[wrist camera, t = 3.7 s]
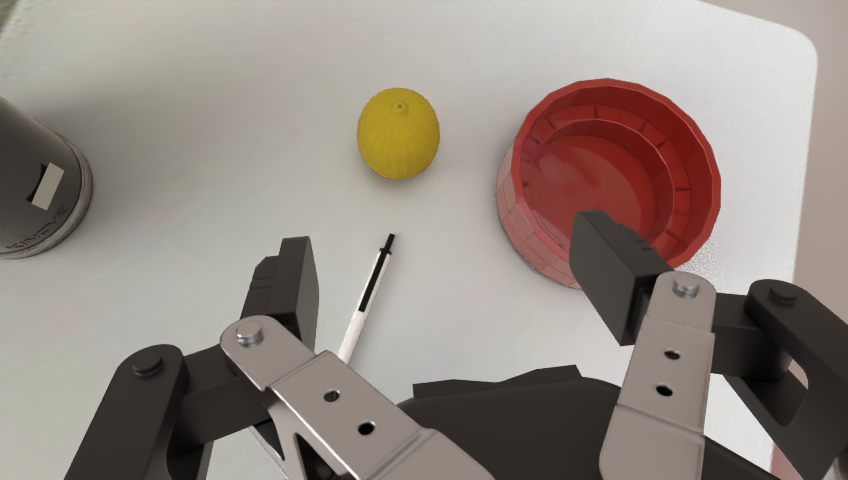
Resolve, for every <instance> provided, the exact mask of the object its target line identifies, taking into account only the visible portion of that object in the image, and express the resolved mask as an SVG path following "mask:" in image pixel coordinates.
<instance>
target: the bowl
mask: <svg viewBox="0 0 848 480" xmlns="http://www.w3.org/2000/svg"><path fill="white" fill-rule="evenodd" d="M496 200H497V205H498V210H499V215H500V220H501V224H502V226H503V228H504V229H505V231H506V233H507V235H508V237H509V239H510V240H511V242H512V244H513V246H514V248H515V249H516V250H517V251H518V252H519V253H520V254H521V255H522V256H523V257H524V258H525V259H526V260H527V261H528V262H529V263H530V264H531V265H532V266H533V267H534V268H535V269H536V270H537V271H539V273H541V274H543V275H545V276H547V277H549V278H551V279H553V280H555V281H557V282H559V283H561V284H563V285H565V286H568V287H573V288H579V289H582V288H581V287H580V285H579V284H578V282H577V281H576V279H575V278H574V276H573V275H572V272H571V270H570V265H569V250H570V242H571V235H572V227H573V220H574V216H575V214H576V212H578V211H587V210H597V209H602V210H604V211H605V212H606V213H607V214H608V215H609V216H610V217H611V218H612V219H613V220H614V221H615V222H616V224H617V223H621V224H623V225H625V226H627V227H629V228H631V229H633V230H635V231H636V232H637V233H638V234H639V235H640V236H641V237H642V238H643V239H644V240H645V242H647V243H648V244H649V245H650V246H651V247H652V250H655V251H656V252H657V253H658V254H659V255H660V256H661V257H662V258H663V259H664V260H665V261H666V262H667V263H668V264H669V265H670V266H671V267H672V268H673V269H675V268H677V267H679V266H680V265H682V264H684V263H686V262H688V261H689V260H690V259H691V258H692V257H693V256H694V255H695V253H696V252H697V251H698V250H699V249H700V248H701V247H702V245H703V244H704V243H705V242H706V241H707V240H708V239H709V237H710V235H711V232H712V229H713V227H714V224H715V221H716V219H717V216H718V213H719V211H720V203H721V178H720V173H719V170H718V167H717V164H716V160H715V157H714V154H713V151H712V148H711V145H710V144H709V142H708V141H707V139H706V138H705V136H704V135H703V133H702V132H701V130H700V129H699V127H698V126H697V124H696V123H695V121H694V120H693V119H692V118H691V117H690V116H688V115H687V114H686V113H685V112H684V111H683V110H682V109H680V108H679V107H678V106H677V105H676V104H675V103H674V102H672V101H671V100H670V99H668V98H667V97H665V96H663V95H661V94H659V93H657V92H655V91H653V90H651V89H649V88H647V87H644V86H642V85H640V84H637V83H631V82H626V81H621V80H615V79H610V78H605V79H595V80H585V81H578V82H575V83H572V84H570V85H568V86H565V87H563V88H561V89H558V90H556V91H554V92H552V93H550V94H548V95H547V96H546V97H545V98H544V99H543V100H542V101H541V102H540V103H539V104H537V105H536V106H535V107H534V108H533V109H532V110H531V111H530V112H529V113H528V114H527V116H526V118H525V120H524V122H523V123H522V125H521V127H520V129H519V131H518V133H517V134H516V136H515V138H514V140H513V142H512V144H511V146H510V148H509V150H508V151H507V153H506V155H505V157H504V159H503V161H502V163H501V165H500V167H499V173H498V181H497V188H496Z"/></svg>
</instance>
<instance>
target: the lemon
mask: <svg viewBox="0 0 848 480" xmlns="http://www.w3.org/2000/svg"><path fill="white" fill-rule="evenodd" d="M357 140H358V146H359V150H360V152H361V154H362V157H363V159H364V160H365V162H366V163H367V164H368V165H369V167H370V168H371V169H372V170H374V171H375V172H376V173H378V174H379V175H381V176H384V177H386V178H390V179H395V180H399V179H408V178H411V177H414V176H416V175H418V174H419V173H421V172H423V171H424V170H425V169H426V168H427V167H428V166H429V164H430V163H431V162H432V160H433V158H434V156H435V155H436V152H437V149H438V145H439V141H440V133H439V123H438V120H437V117H436V114H435V111H434V110H433V108H432V106H431V105H430V103H429V102H428V101H427V100H426V99H425V98H424V97H423V96H422V95H420V94H418V93H417V92H415V91H412V90H409V89H406V88H392V89H387V90H384V91H382V92H379V93H378V94H377V95H375V96H374V97H372V98H371V99H370V101H369V102H368V103H367V104H366V106H365V107H364V109H363V111H362V113H361V116H360V118H359V121H358V129H357Z"/></svg>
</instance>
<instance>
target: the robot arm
mask: <svg viewBox="0 0 848 480" xmlns="http://www.w3.org/2000/svg"><path fill="white" fill-rule="evenodd" d="M91 191H92V178H91V173H90V169H89V166H88V164H87V161H86V159H85V158H84V156H83V155H82V153H81V152H80V151H79V150H78V149H77V148H76V147H75V146H74V145H73V144H71V143H70V142H69V141H67V140H66V139H64V138H63V137H61V136H60V135H58V134H57V133H55V132H53V131H51V130H49V129H47V128H46V127H44V126H43V125H41V124H40V123H39V122H37V121H36V120H34V119H33V118H32V117H30V116H29V115H27V114H26V113H25V112H23V111H22V110H20V109H19V108H17V107H16V106H14V105H13V104H11V103H10V102H9V101H7V100H6V99H4V98H3V97H1V96H0V259H16V258H23V257H28V256H31V255H35V254H37V253H40V252H43V251H45V250H47V249H49V248H50V247H52V246H54V245H56V244H57V243H58V242H60V241H61V240H62V239H64V238H65V237H66V236H67V235H68V234H69V233H70V232H71V231H72V230H73V229H74V228H75V227H76V226H77V224H78V223H79V221H80V220H81V219H82V217H83V215H84V213H85V211H86V209H87V207H88V204H89V201H90V197H91ZM569 265H570V270H571V272H572V275H573V276H574V278H575V279H576V281H577V282H578V284H579V285H580V287H581V288H582V290H583V291H584V293H585V294H586V296H587V297H588V299H589V300H590V302H591V303H592V305H593V306H594V307H595V309H596V310H597V312H598V313H599V315H600V316H601V318H602V319H603V321H604V322H605V324H606V325H607V327H608V328H609V330H610V331H611V333H612V334H613V336H614V337H615V339H616V340H617V342H618V343H619V345H620V346H628V345H635V346H634V350H633V353H632V356H631V359H630V362H629V366H628V369H627V372H626V375H625V378H624V382H623V385H622V388H621V387H619V386H617V385H614V384H611V383H609V382H606V381H602V380H598V379H594V378H588V377H582V376H581V374H580V372H579V370H578V368H577V366H576V365H568V366H560V367H551V368H543V369H536V370H533V371H530V372H527V373H524V374H522V375H519V376H516V377H513V378H510V379H507V380H505V381H502V382H481V381H469V380H456V379H452V380H444V381H436V382H427V383H419V384H413V395H414V397H413V398H410V399H407V400H405V401H403V402H401V403H399V404H397V405H395V404H393V403H392V402H391V401H390V400H389V399H387V398H386V397H385V396H384V395H383V394H382V393H380V392H379V391H378V390H377V389H376V388H374V387H373V386H372V385H371V384H370V383H368V382H367V381H366V380H365V379H364V378H362V377H361V376H360V375H359V374H358V373H356V372H355V371H354V370H353V369H352V368H350V367H349V366H348V365H347V364H346V363H344V362H343V361H342V360H341V359H340V358H339V357H337V356H336V355H335V354H334V353H332V352H331V351H328V350H325V351H323V352H321V353H320V354H318V355H316V354H314V347H315V337H316V327H317V316H318V306H319V286H318V279H317V273H316V268H315V262H314V257H313V251H312V246H311V241H310V238H309V236H304V237H293V238H283V240H282V243H281V248H280V252H279V256H269V257H265V258H264V259H263V260H262V261H261V262H260V263H259V264H258V266H257V267H256V268H255V271H254V274H253V277H252V281H251V284H250V287H249V290H248V294H247V297H246V300H245V303H244V307H243V310H242V313H241V317H240V320H238V321H236V322H234V323H233V324H231V325H230V326H228V327H227V328H226V329H225V330H224V332H223V333H222V335H221V337H220V343H219V344H217V345H215V346H213V347H211V348H208V349H205V350H202V351H199V352H196V353H193V354H190V355H187V356H184V357H183V354H182V352H181V350H180V349H179V348H178V347H176V346H173V345H168V344H161V345H154V346H150V347H147V348H144V349H142V350H139V351H137V352H135V353H134V354H132V355H131V356H129V357H128V358H127V359H125V360H124V361H123V362H122V363H121V364H120V365H119V367H118V368H117V370H116V372H115V374H114V376H113V378H112V380H111V382H110V384H109V386H108V388H107V390H106V393H105V395H104V397H103V399H102V401H101V403H100V405H99V407H98V409H97V411H96V413H95V415H94V418H93V420H92V422H91V424H90V426H89V428H88V430H87V432H86V434H85V436H84V438H83V440H82V443H81V445H80V447H79V449H78V451H77V453H76V455H75V457H74V459H73V461H72V463H71V465H70V468H69V470H68V472H67V474H66V476H65V478H64V480H206V476H207V471H208V466H209V462H210V457H211V452H212V448H213V443H214V440H217V439H219V438H222V437H224V436H227V435H229V434H232V433H235V432H237V431H240V430H242V429H245V428H247V427H248V428H249V430H250V431H251V432H252V433H253V435H254V436H255V437H256V438H257V439H258V441H259V442H260V443H261V444H262V446H263V447H264V448H265V449H266V451H267V452H268V453H269V454H270V455H271V457H272V458H273V459H274V460H275V462H276V463H277V464H278V465H279V467H280V468H281V469H282V470H283V471H284V473H285V474H286V476H287V477H288V479H289V480H781V479H779V478H777V477H775V476H774V475H772V474H770V473H769V472H767V471H765V470H764V469H762V468H760V467H758V466H757V465H755V464H753V463H752V462H750V461H748V460H746V459H745V458H743V457H741V456H739V455H738V454H736V453H734V452H733V451H731V450H729V449H727V448H726V447H724V446H722V445H721V444H719V443H717V442H715V441H714V440H712V439H710V438H708V437H707V436H705V435H703V431H704V422H705V414H706V406H707V398H708V390H709V381H710V373H715V374H722V375H723V376H724V378H725V379H726V380H727V382H728V383H729V384H730V386H731V387H732V388H733V389H734V391H735V392H736V393H737V395H738V396H739V397H740V398H741V400H742V401H743V402H744V404H745V405H746V406H747V407H748V409H749V410H750V411H751V413H752V414H753V415H754V416H755V418H756V419H757V420H758V421H759V423H760V424H761V425H762V427H763V428H764V429H765V430H766V432H767V433H768V434H769V436H770V437H771V438H772V439H773V441H774V442H775V443H776V445H777V446H778V447H779V448H780V450H781V451H782V452H783V453H784V455H785V456H786V457H787V459H788V460H789V461H790V462H791V464H792V465H793V466H794V468H795V469H796V470H797V472H798V473H799V474H800V475H801V476H802V478H803V479H804V480H848V325H847V324H846V323H845V322H844V321H843V320H841V319H840V318H839V317H838V316H836V315H835V314H834V313H833V312H831V311H830V310H829V309H828V308H827V307H826V306H824V305H823V304H822V303H821V302H819V301H818V300H817V299H816V298H815V297H813V296H812V295H811V294H810V293H808V292H807V291H805V290H804V289H802V288H800V287H798V286H796V285H793V284H791V283H788V282H784V281H780V280H772V279H763V280H758V281H755V282H753V283H752V284H751V286H750V288H749V291H748V294H747V295H736V294H726V293H717V292H716V290H715V288H714V286H713V285H712V284H711V283H710V282H709V281H707V280H706V279H704V278H702V277H700V276H698V275H695V274H692V273H688V272H682V271H675V270H674V269H673V268H672V267H671V266H670V265H669V264H668V263H667V262H666V261H665V260H664V259H663V258H662V257H661V256H660V255H659V254H658V253H657V252H656V251H655V250H652V247H651V246H650V245H649V244H648V243H647V242H645V240H644V239H643V238H642V237H641V236H640V235H639V234H638V233H637V232H636V231H635V230H633V229H631V228H629V227H627V226H625V225H623V224H621V223H617V224H616V222H615V221H614V220H613V219H612V218H611V217H610V216H609V215H608V214H607V213H606V212H605V211H604V210H602V209H597V210H587V211H578V212H576V214H575V216H574V220H573V227H572V235H571V242H570V250H569ZM792 359H794V360H795V361H796V362H797V364H799V366H800V367H801V368H802V369H803V370H804V372H805V373H806V376H807V379H808V390H807V389H806V387H805V386H804V385H803V384H802V383H801V382H800V381H799V380H798V379H797V378H796V377H795V376H794V375H793V374H792V373H791V372H790V371H789V370H788V367H789V365H790V363H791V361H792Z"/></svg>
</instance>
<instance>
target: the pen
mask: <svg viewBox="0 0 848 480" xmlns="http://www.w3.org/2000/svg"><path fill="white" fill-rule="evenodd" d="M394 236H395V235H394V234H390V235H389V237H388V240H387V242H386V245H385V247H384V248H380V250H379V253H378V255H377V258H376V260H375V263H374V265H373V268H372V270H371V273H370V275H369V278H368V280H367V283H366V285H365V288H364V290H363V293H362V295H361V298H360V300H359V303H358V305H357V308H356V310H355V313H354V315H353V318H352V320H351V323H350V325H349V328H348V330H347V333H346V335H345V338H344V340H343V343H342V345H341V348H340V350H339V353H338V355H337V357H339V358H340V359H341V360H342V361H343V362H344V363H346V364H347V365H348V363H349V361H350V358H351V356H352V353H353V351H354V348H355V345H356V343H357V340H358V338H359V335H360V333H361V330H362V328H363V325H364V323H365V320H366V317H367V315H368V312H369V310H370V307H371V305H372V302H373V300H374V297H375V295H376V292H377V289H378V287H379V284H380V282H381V279H382V277H383V274H384V272H385V269H386V267H387V264H388V261H389V259H390V256H391V254H392V253H391V252H390V251H389V249H390V247H391V244H392V242H393V239H394ZM288 480H289V479H288Z"/></svg>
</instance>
